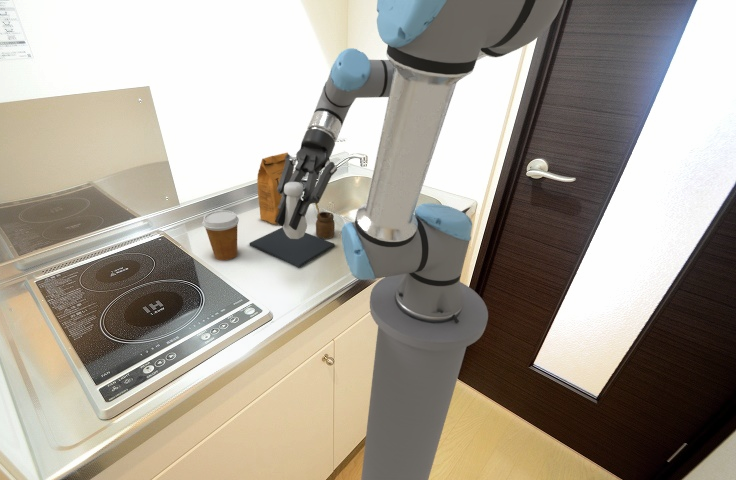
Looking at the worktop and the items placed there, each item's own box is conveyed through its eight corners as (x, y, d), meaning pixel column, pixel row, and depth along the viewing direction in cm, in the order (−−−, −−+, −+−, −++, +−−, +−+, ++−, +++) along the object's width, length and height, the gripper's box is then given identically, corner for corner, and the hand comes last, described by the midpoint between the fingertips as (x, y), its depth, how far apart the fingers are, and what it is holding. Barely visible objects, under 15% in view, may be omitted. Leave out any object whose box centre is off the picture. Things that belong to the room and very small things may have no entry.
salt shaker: (279, 238, 87) (276, 186, 80) (288, 228, 92) (285, 178, 85) (302, 242, 86) (301, 189, 79) (310, 231, 90) (309, 180, 83)
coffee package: (302, 217, 128) (301, 154, 117) (275, 228, 120) (270, 161, 109) (284, 209, 134) (281, 148, 122) (256, 219, 126) (250, 155, 115)
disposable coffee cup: (234, 265, 100) (229, 225, 94) (202, 261, 102) (194, 222, 95) (248, 248, 108) (243, 211, 102) (217, 245, 110) (211, 208, 103)
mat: (334, 246, 111) (334, 243, 110) (299, 268, 100) (299, 265, 99) (286, 227, 121) (286, 225, 120) (249, 245, 110) (249, 242, 109)
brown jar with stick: (337, 237, 116) (338, 202, 110) (318, 240, 114) (318, 204, 107) (330, 229, 120) (331, 195, 114) (312, 232, 118) (312, 197, 112)
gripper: (355, 150, 88) (322, 239, 84) (298, 141, 94) (264, 224, 90) (347, 131, 81) (310, 227, 77) (286, 123, 87) (248, 212, 83)
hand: (285, 225), depth 83 cm, fingers closed on salt shaker, 3 cm apart
